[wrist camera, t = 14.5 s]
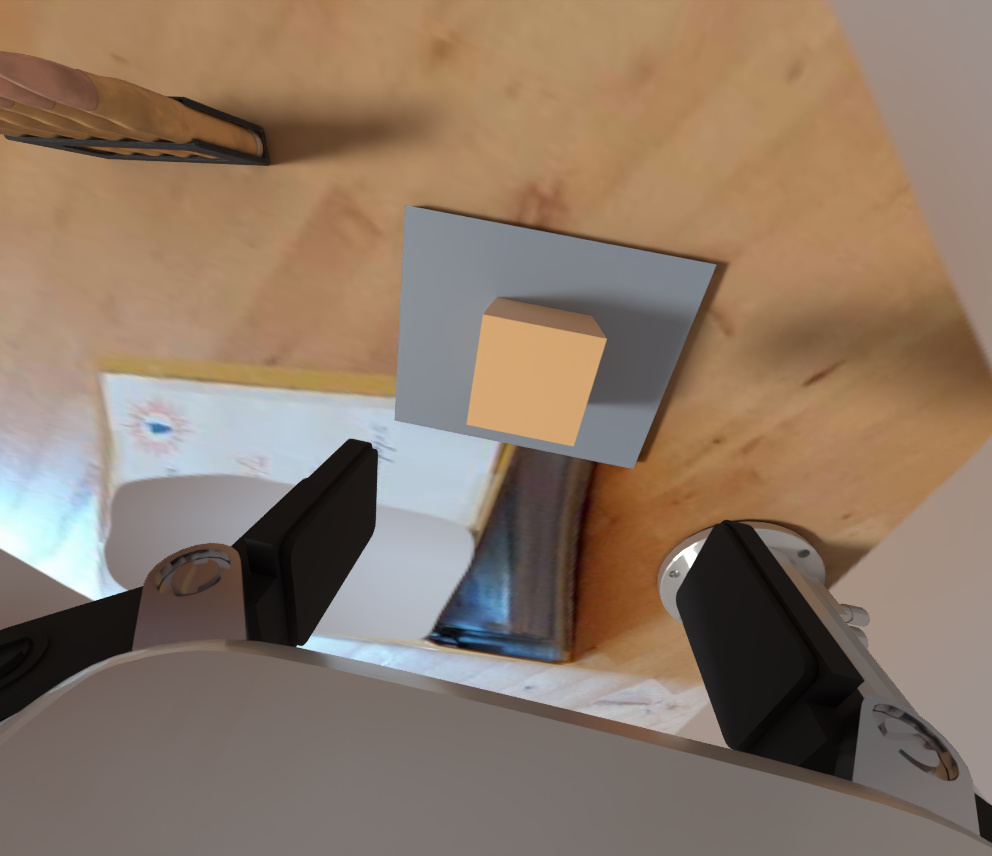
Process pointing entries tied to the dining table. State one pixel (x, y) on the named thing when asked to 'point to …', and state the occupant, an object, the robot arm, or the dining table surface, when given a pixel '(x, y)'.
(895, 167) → the dining table surface
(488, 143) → the dining table surface
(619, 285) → the gray rectangular slab
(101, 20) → the dining table surface
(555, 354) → the beige wooden cube
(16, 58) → the ammunition clip
